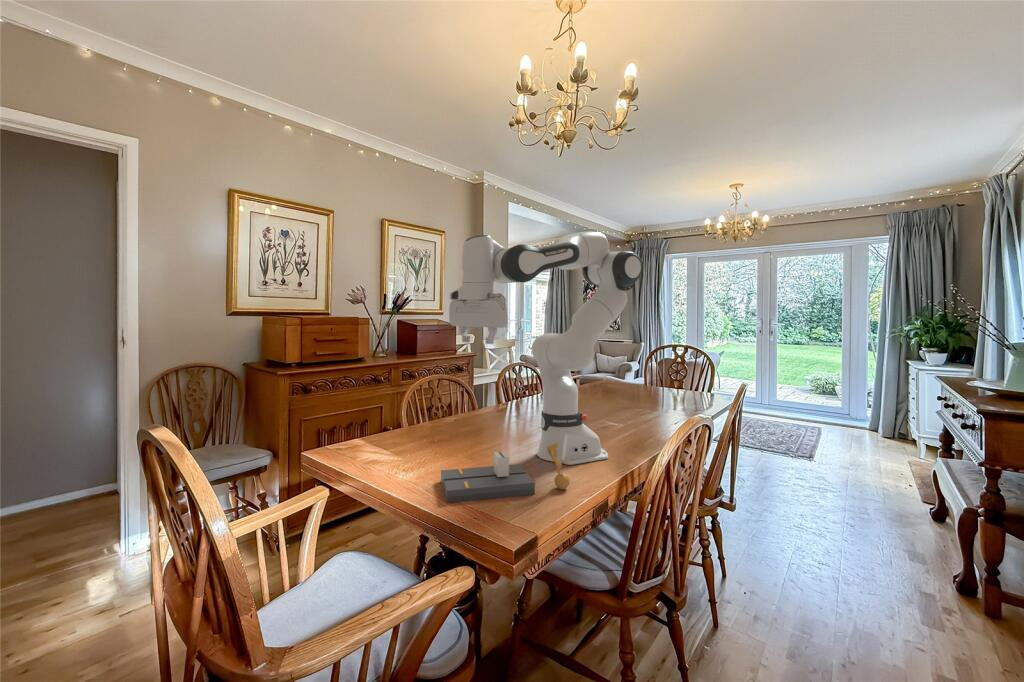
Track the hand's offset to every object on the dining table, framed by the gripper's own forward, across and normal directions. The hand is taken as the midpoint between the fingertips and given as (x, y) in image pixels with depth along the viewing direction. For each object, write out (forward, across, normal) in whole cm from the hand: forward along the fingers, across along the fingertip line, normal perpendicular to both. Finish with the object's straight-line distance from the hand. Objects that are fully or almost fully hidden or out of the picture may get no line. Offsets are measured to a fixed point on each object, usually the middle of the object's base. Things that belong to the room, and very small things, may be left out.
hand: (477, 343), depth 125 cm
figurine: (+37, -25, -5) cm, 45 cm away
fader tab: (+35, -13, +4) cm, 37 cm away
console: (+37, -10, +7) cm, 39 cm away
